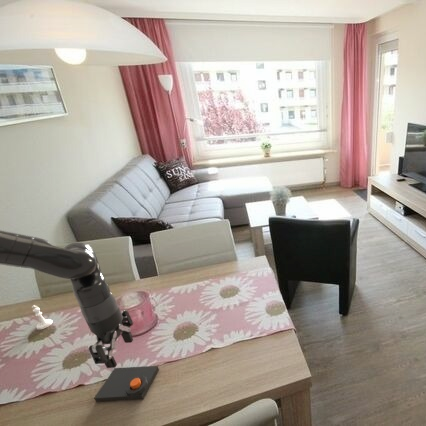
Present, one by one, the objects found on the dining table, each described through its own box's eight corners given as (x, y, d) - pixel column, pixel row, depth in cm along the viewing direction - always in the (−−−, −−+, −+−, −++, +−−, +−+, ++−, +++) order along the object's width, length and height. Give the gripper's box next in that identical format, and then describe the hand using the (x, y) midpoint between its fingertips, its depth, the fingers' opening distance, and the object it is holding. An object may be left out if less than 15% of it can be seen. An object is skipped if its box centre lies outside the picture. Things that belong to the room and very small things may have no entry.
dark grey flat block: (143, 400, 87) (140, 392, 85) (95, 403, 87) (91, 395, 85) (159, 369, 96) (157, 362, 95) (116, 371, 96) (112, 364, 95)
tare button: (138, 389, 87) (136, 385, 86) (129, 389, 87) (128, 386, 86) (143, 381, 89) (141, 377, 89) (134, 381, 89) (132, 378, 89)
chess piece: (42, 320, 119) (31, 301, 115) (55, 319, 119) (45, 300, 115) (33, 330, 114) (21, 310, 110) (46, 328, 115) (35, 309, 111)
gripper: (103, 294, 85) (122, 335, 92) (68, 333, 72) (92, 377, 79) (129, 292, 85) (146, 333, 92) (98, 330, 72) (120, 375, 79)
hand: (121, 353), depth 85 cm, fingers open, 8 cm apart
